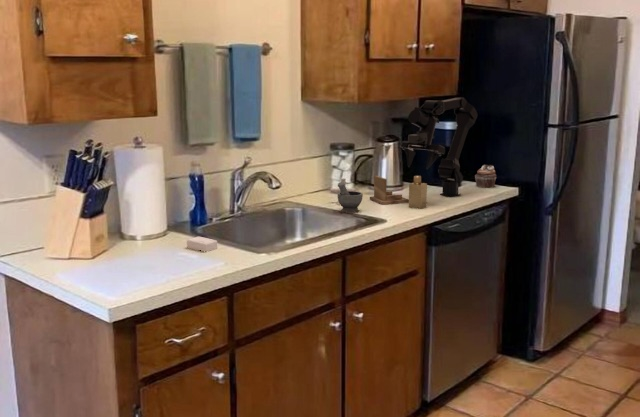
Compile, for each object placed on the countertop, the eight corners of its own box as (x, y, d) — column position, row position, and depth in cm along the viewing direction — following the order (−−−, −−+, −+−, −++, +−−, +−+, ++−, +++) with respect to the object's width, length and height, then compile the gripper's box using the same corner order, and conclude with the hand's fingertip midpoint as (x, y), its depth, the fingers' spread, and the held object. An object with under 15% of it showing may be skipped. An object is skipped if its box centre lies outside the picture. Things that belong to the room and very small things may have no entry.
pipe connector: (356, 200, 279) (356, 176, 277) (354, 205, 269) (354, 180, 267) (332, 200, 280) (332, 176, 278) (330, 205, 270) (330, 180, 268)
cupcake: (475, 184, 314) (476, 163, 312) (496, 185, 311) (497, 163, 309) (473, 187, 305) (474, 166, 303) (495, 188, 302) (496, 166, 300)
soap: (218, 249, 208) (218, 240, 208) (205, 253, 204) (204, 243, 203) (199, 244, 214) (199, 235, 213) (186, 248, 210) (185, 239, 209)
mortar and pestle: (350, 207, 266) (350, 177, 264) (367, 210, 260) (367, 180, 257) (330, 211, 259) (329, 181, 256) (347, 215, 252) (347, 184, 249)
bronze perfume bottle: (414, 205, 268) (414, 174, 266) (426, 207, 265) (427, 175, 263) (408, 207, 265) (409, 176, 262) (421, 209, 262) (421, 177, 259)
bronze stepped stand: (395, 197, 285) (395, 173, 283) (408, 202, 274) (409, 177, 272) (369, 199, 281) (369, 175, 278) (382, 204, 270) (382, 180, 267)
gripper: (397, 123, 271) (387, 160, 270) (434, 126, 257) (425, 165, 257) (412, 131, 278) (403, 167, 278) (450, 134, 265) (440, 172, 265)
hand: (417, 168), depth 269 cm, fingers open, 9 cm apart
